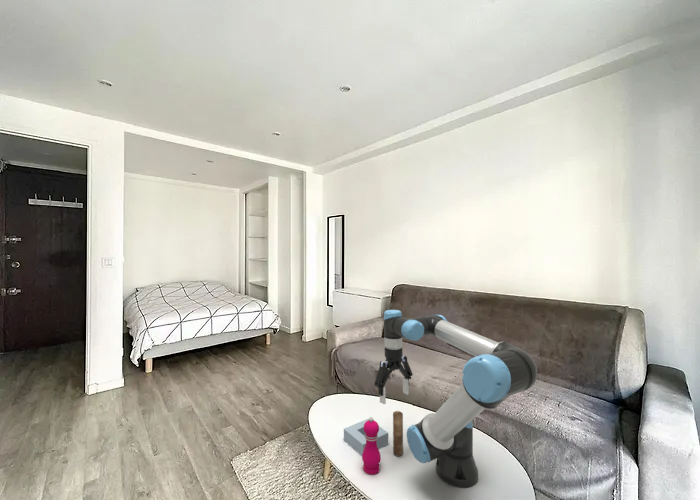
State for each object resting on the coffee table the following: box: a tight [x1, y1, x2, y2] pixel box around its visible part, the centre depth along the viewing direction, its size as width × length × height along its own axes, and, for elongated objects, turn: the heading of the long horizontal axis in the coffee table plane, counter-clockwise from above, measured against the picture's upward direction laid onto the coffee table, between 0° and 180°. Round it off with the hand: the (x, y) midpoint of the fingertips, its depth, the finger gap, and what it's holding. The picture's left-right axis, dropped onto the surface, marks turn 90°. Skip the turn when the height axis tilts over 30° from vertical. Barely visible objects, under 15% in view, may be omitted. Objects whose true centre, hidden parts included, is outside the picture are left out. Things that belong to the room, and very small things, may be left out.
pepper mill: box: [361, 416, 382, 476], centre depth 118 cm, size 7×7×20 cm
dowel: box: [392, 410, 404, 457], centre depth 127 cm, size 4×4×17 cm
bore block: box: [343, 418, 389, 456], centre depth 135 cm, size 14×14×5 cm
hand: (394, 398), depth 128 cm, fingers open, 13 cm apart
